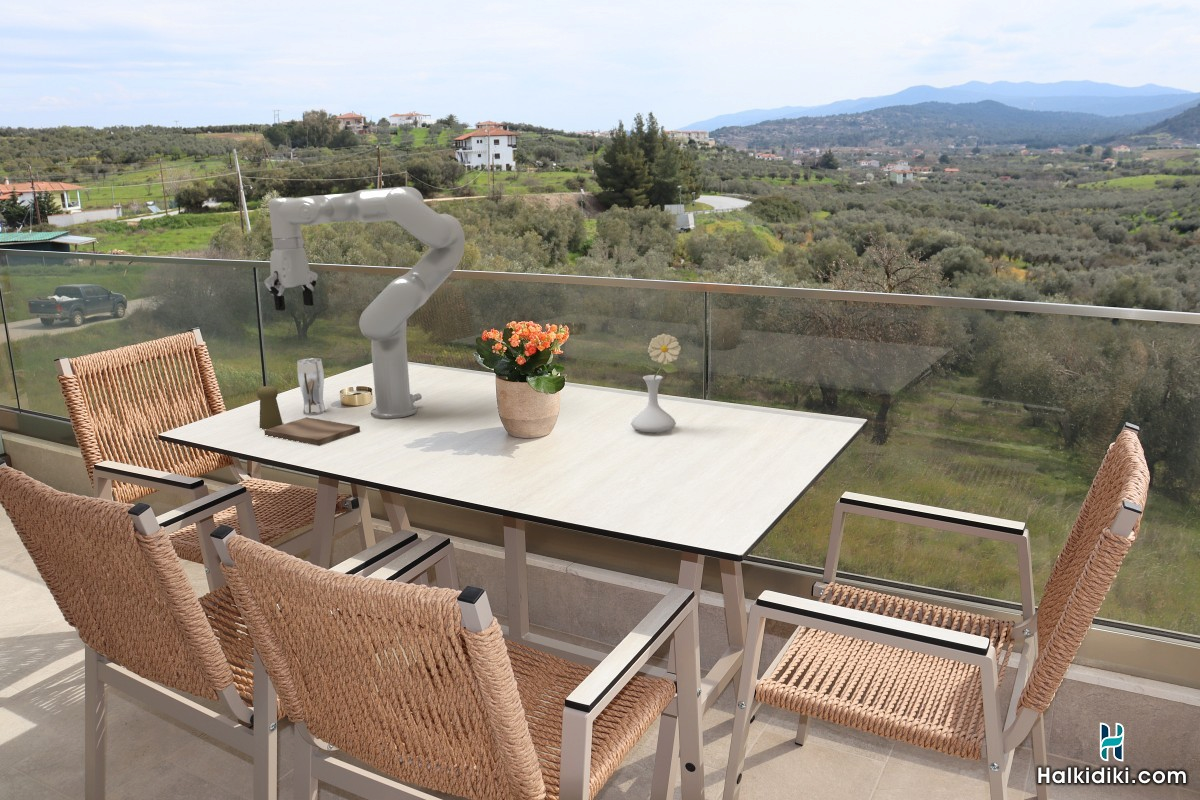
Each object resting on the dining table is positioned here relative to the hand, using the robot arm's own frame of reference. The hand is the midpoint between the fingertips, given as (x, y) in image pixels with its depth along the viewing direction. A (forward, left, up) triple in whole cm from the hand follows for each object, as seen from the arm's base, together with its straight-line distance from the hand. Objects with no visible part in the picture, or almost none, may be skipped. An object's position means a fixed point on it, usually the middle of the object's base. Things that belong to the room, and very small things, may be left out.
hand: (294, 307), depth 249 cm
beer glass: (-3, 0, -31) cm, 31 cm away
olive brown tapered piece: (+13, +1, -31) cm, 33 cm away
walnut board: (+13, +17, -30) cm, 37 cm away
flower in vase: (-29, +96, -31) cm, 105 cm away
